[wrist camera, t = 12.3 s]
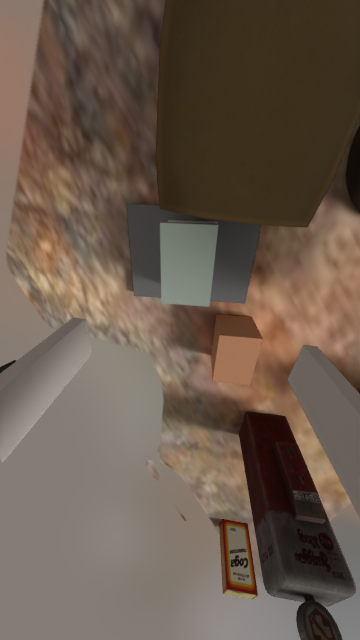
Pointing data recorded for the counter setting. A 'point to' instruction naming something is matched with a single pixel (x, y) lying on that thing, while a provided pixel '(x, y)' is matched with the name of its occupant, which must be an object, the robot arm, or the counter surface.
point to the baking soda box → (237, 560)
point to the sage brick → (187, 262)
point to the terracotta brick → (235, 349)
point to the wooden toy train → (255, 106)
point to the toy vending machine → (292, 527)
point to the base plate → (230, 253)
